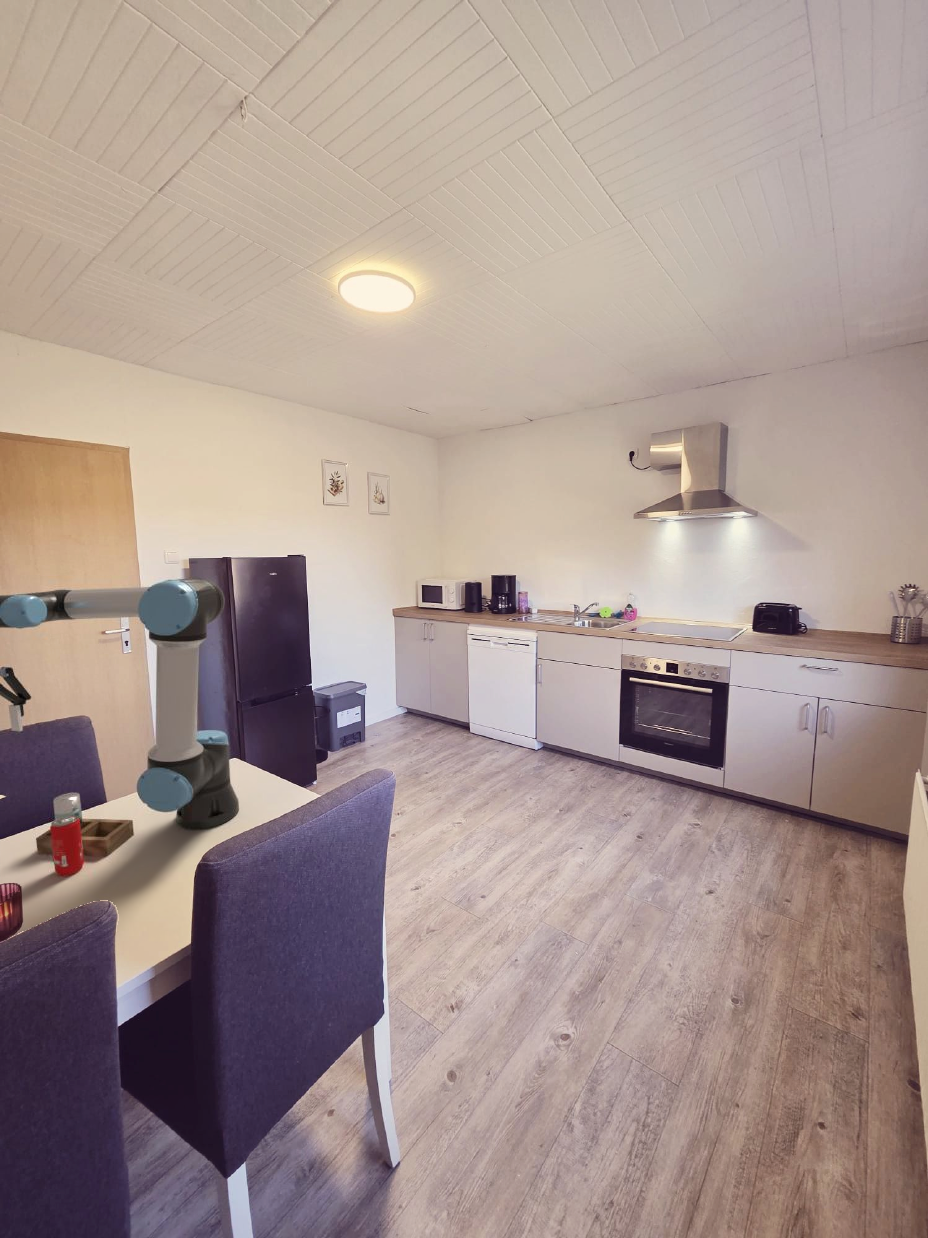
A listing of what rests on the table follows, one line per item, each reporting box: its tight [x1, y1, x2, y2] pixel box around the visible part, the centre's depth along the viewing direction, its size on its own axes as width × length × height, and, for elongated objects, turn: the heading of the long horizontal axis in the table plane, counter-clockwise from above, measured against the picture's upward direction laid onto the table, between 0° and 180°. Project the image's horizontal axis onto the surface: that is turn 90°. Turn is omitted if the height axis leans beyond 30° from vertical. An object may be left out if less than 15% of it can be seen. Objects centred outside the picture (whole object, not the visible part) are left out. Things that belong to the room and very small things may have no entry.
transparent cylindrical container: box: [52, 792, 83, 830], centre depth 124 cm, size 5×5×12 cm
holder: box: [35, 818, 135, 857], centre depth 124 cm, size 17×9×4 cm, turn 88°
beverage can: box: [49, 815, 85, 877], centre depth 113 cm, size 5×5×12 cm
